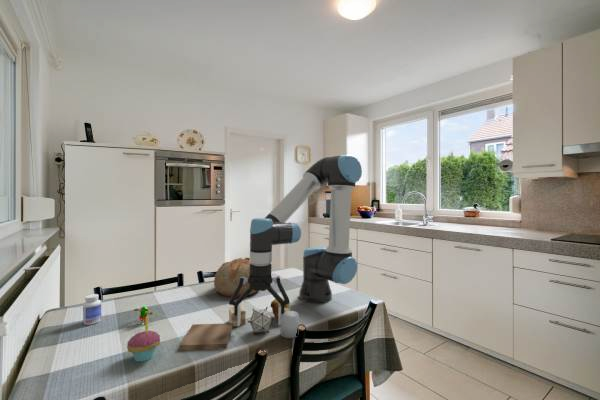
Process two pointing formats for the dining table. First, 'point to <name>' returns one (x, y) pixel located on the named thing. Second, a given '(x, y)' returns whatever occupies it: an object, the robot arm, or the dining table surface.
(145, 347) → the cupcake
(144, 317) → the toy character
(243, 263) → the bread
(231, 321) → the beech block
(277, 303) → the fruit
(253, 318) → the game die
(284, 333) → the white rounded cylinder
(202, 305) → the dining table surface
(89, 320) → the pill bottle
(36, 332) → the dining table surface
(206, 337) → the board
